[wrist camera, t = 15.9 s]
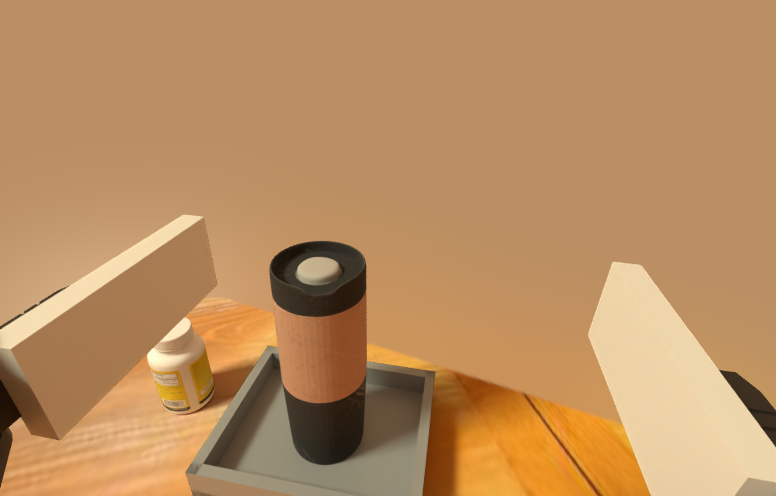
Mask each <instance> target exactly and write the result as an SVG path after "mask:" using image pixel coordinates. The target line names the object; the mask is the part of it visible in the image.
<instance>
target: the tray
mask: <svg viewBox="0 0 776 496" xmlns="http://www.w3.org/2000/svg"><path fill="white" fill-rule="evenodd" d="M434 379H435V372H433V371H427V370H420V369H414V368H408V367H401V366H395V365H388V364H382V363H375V362H369V361H367V373H366V393H365V413H364V429H363V437H362V440H361V443H360V445H359V446H358V448H357V449H356V451H355V452H354V453H353V454H352V455H351V456H349V457H348V458H347V459H345V460H343V461H341V462H338V463H336V464H331V465H318V464H314V463H311V462H309V461H307V460H305V459H304V458H302V457H301V456H300V455H299V453H298V452H297V450H296V449H295V447H294V444H293V439H292V435H291V429H290V424H289V418H288V412H287V406H286V401H285V395H284V389H283V383H282V377H281V368H280V359H279V351H278V347H273V346H267V348H266V349H265V351H264V352H263V354H262V355H261V357H260V359H259V360H258V362H257V363H256V365H255V366H254V368H253V369H252V371H251V372H250V374H249V375H248V377H247V378H246V380H245V382H244V383H243V385H242V386H241V388H240V389H239V391H238V392H237V394H236V395H235V397H234V398H233V400H232V401H231V403H230V405H229V406H228V408H227V409H226V411H225V412H224V414H223V415H222V417H221V418H220V420H219V421H218V423H217V425H216V426H215V428H214V429H213V431H212V432H211V434H210V435H209V437H208V438H207V440H206V441H205V443H204V444H203V446H202V448H201V449H200V451H199V452H198V454H197V455H196V457H195V458H194V460H193V461H192V463H191V464H190V466H189V468H188V469H187V471H186V472H185V473H186V476H187V479H188V482H189V485H190V488H191V491H192V494H193V496H422V493H423V484H424V474H425V465H426V455H427V446H428V436H429V426H430V417H431V407H432V398H433V388H434Z"/></svg>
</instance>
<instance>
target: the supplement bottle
mask: <svg viewBox="0 0 776 496" xmlns="http://www.w3.org/2000/svg"><path fill="white" fill-rule="evenodd" d="M148 363H149V366H150V369H151V372H152V375H153V378H154V380H155V383H156V386H157V389H158V392H159V395H160V398H161V401H162V403H163V405H164V407H165V409H166V410H167V411H169V412H171V413H173V414H187V413H191V412H194V411H196V410H198V409H200V408H201V407H203V406H204V405H205V404H207V403H208V402H209V401H210V399H211V398H212V396H213V394H214V391H215V385H214V380H213V377H212V373H211V369H210V365H209V361H208V357H207V353H206V349H205V345H204V342H203V340H202V338H201V337H200V336H199V335H198V334H196V333H194V330H193V327H192V324H191V321H190V320H189V319H187V318H185V317H184V318H183V319H182V320H181V321H180V322H179V323H178V324H177V325H176V326H175V327H174V328H173V329H172V330H171V331H170V332H169V333H168V334H167V335H166V336H165V337H164V338H163V339H162V340H161V341H160V342H159V343H158V344H157V345H156V346H155V347H154V348H153V349H152V350H151V351H150V352H149V353H148Z"/></svg>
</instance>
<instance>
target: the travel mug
mask: <svg viewBox="0 0 776 496" xmlns="http://www.w3.org/2000/svg"><path fill="white" fill-rule="evenodd" d="M270 281H271V289H272V298H273V307H274V316H275V325H276V333H277V342H278V351H279V359H280V368H281V377H282V383H283V389H284V395H285V401H286V406H287V412H288V418H289V424H290V429H291V435H292V439H293V444H294V447H295V449H296V450H297V452H298V453H299V455H300V456H301V457H302V458H304V459H305V460H307V461H309V462H311V463H314V464H318V465H331V464H336V463H338V462H341V461H343V460H345V459H347V458H348V457H349V456H351V455H352V454H353V453H354V452H355V451H356V449H357V448H358V446H359V445H360V443H361V440H362V437H363V429H364V413H365V393H366V373H367V336H366V333H367V332H366V262H365V258H364V256H363V255H362V254H361V253H360V252H359V251H358V250H357V249H355V248H353V247H351V246H349V245H346V244H343V243H338V242H332V241H314V242H305V243H301V244H297V245H294V246H292V247H289V248H287V249H284V250H283V251H281V252H280V253H278V254H277V255H276V256H275V257H274V258H273V259H272V261H271V264H270Z"/></svg>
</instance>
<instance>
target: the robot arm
mask: <svg viewBox="0 0 776 496" xmlns="http://www.w3.org/2000/svg"><path fill="white" fill-rule="evenodd" d="M216 286H217V279H216V274H215V270H214V265H213V260H212V255H211V250H210V245H209V240H208V235H207V230H206V225H205V220H204V217H199V216H191V215H182V216H181V217H179V218H177V219H176V220H174V221H173V222H171V223H169V224H168V225H166V226H165V227H163V228H161V229H160V230H158V231H157V232H155V233H153V234H152V235H150V236H149V237H147V238H145V239H144V240H142V241H141V242H139V243H137V244H136V245H134V246H133V247H131V248H130V249H128V250H126V251H125V252H123V253H121V254H120V255H118V256H117V257H115V258H113V259H112V260H110V261H109V262H107V263H106V264H104V265H102V266H101V267H99V268H98V269H96V270H94V271H93V272H91V273H90V274H88V275H86V276H85V277H83V278H82V279H80V280H78V281H77V282H75V283H74V284H72V285H70V286H68V287H66V288H63V289H60V290H58V291H56V292H55V293H53V294H52V295H50V296H48V297H47V298H45V299H44V300H42V301H40V304H39V305H37V304H36V305H34V306H32V307H31V308H29V309H28V310H26V311H24V314H20V315H18V316H17V317H15V318H13V319H11V320H10V321H8V322H7V323H5V324H3V325H2V326H0V487H1V483H2V479H3V475H4V471H5V468H6V464H7V460H8V456H9V452H10V448H11V445H12V441H13V440H12V433H11V431H10V429H9V428H8V427H9V426H11V425H12V424H13V423H14V422H15V421H16V420H18V419H19V418H20V417H21V418H22V420H23V421H24V423H25V425H26V426H27V428H28V430H29V431H30V433H31V435H36V436H41V437H46V438H51V439H56V440H61V439H62V438H63V437H64V436H65V435H66V434H67V433H68V432H69V431H70V430H71V429H72V428H73V427H74V426H75V425H76V424H77V423H78V422H79V421H80V420H81V419H82V418H83V417H84V416H85V415H86V414H87V413H88V412H89V411H90V410H91V409H92V408H93V407H94V406H95V405H96V404H97V403H98V402H99V401H100V400H101V399H102V398H103V397H104V396H105V395H106V394H107V393H108V392H109V391H110V390H111V389H112V388H113V387H114V386H115V385H116V384H117V383H118V382H119V381H120V380H121V379H122V378H123V377H124V376H125V375H127V374H128V373H129V372H130V371H131V370H132V369H133V368H134V367H135V366H136V365H137V364H138V363H139V362H140V361H141V360H142V359H143V358H144V357H145V356H146V355H147V354H148V353H149V352H150V351H151V350H152V349H153V348H154V347H155V346H156V345H157V344H158V343H159V342H160V341H161V340H162V339H163V338H164V337H165V336H166V335H167V334H168V333H169V332H170V331H171V330H172V329H173V328H174V327H175V326H176V325H177V324H178V323H179V322H180V321H181V320H182V319H183V318H184V317H185V316H186V315H187V314H188V313H189V312H190V311H191V310H192V309H193V308H194V307H195V306H196V305H197V304H198V303H199V302H200V301H201V300H202V299H203V298H204V297H205V296H206V295H207V294H208V293H210V292H211V290H212V289H214V287H216ZM588 336H589V339H590V341H591V344H592V346H593V349H594V352H595V354H596V356H597V359H598V362H599V364H600V367H601V369H602V372H603V375H604V377H605V379H606V382H607V385H608V387H609V390H610V392H611V395H612V398H613V400H614V402H615V405H616V408H617V410H618V413H619V415H620V418H621V420H622V423H623V426H624V428H625V431H626V433H627V436H628V438H629V441H630V443H631V446H632V449H633V451H634V454H635V456H636V459H637V461H638V464H639V466H640V469H641V472H642V474H643V477H644V479H645V482H646V484H647V487H648V489H649V492H650V495H651V496H776V410H775V409H774V408H773V407H772V405H771V404H770V403H769V402H768V400H767V399H766V398H765V397H764V395H763V394H762V393H761V392H760V391H759V390H758V389H756V388H755V387H754V386H752V385H751V384H750V383H749V382H747V381H746V380H745V379H743V378H742V377H741V376H740V375H738V374H737V373H736V372H729V371H722V370H718V369H717V367H716V366H715V365H714V363H713V362H712V361H711V359H710V358H709V357H708V355H707V354H706V352H705V351H704V350H703V348H702V347H701V346H700V344H699V343H698V342H697V340H696V339H695V338H694V336H693V335H692V333H691V332H690V331H689V330H688V328H687V327H686V326H685V324H684V323H683V321H682V320H681V319H680V317H679V316H678V315H677V313H676V312H675V311H674V309H673V308H672V306H671V305H670V304H669V302H668V301H667V300H666V299H665V297H664V296H663V294H662V293H661V292H660V290H659V289H658V288H657V286H656V285H655V283H654V282H653V281H652V280H651V278H650V277H649V275H648V274H647V273H646V271H645V270H644V269H643V267H642V266H641V265H637V264H628V263H619V262H613V263H612V266H611V269H610V272H609V275H608V278H607V280H606V284H605V286H604V289H603V292H602V295H601V298H600V301H599V304H598V307H597V310H596V312H595V316H594V318H593V321H592V324H591V327H590V330H589V333H588Z"/></svg>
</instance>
